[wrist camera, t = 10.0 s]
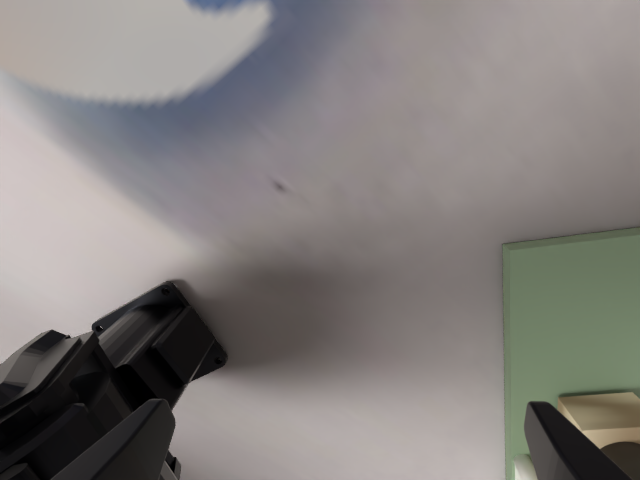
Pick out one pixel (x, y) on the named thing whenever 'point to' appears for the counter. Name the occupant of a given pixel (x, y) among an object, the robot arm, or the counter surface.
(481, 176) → the counter surface
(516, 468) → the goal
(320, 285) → the counter surface
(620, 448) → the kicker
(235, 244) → the counter surface
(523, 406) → the board
